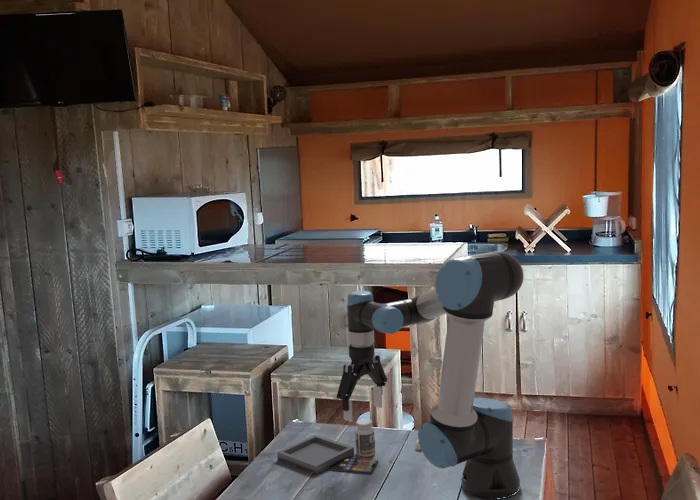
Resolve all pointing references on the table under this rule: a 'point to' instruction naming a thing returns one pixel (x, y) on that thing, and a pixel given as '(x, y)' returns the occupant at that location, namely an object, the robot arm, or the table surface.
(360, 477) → the table surface
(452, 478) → the table surface
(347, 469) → the smartphone
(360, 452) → the pill bottle
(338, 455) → the slate tray
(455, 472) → the table surface
